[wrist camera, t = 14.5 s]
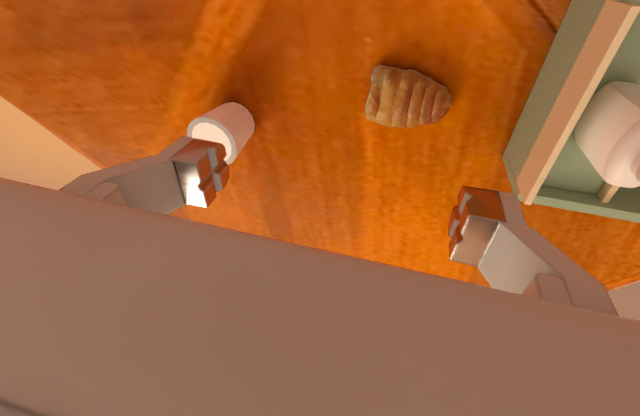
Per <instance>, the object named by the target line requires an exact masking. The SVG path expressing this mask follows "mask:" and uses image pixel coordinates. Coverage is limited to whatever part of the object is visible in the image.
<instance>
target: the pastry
mask: <svg viewBox="0 0 640 416" xmlns="http://www.w3.org/2000/svg"><path fill="white" fill-rule="evenodd" d="M451 103H452V98H451V95H450V94H449V91H448V89H447V87H445V86H443V85H441V84H440V83H438V82H436V81H434V80H433V79H432V78H430V77H427V76H425V75H423V74H421V73H420V72H417V71H415V70H412V69H409V70H404V69H400V68H396V67H389V66H384V65H377V66H376V67H375V68H374V69H373V72H372V76H371V87H370V92H369V95H368V99H367V101H366V107H365V112H366V117H367V119H368V120H372V121H375V122H377V123H379V124H381V125H383V126H386V127H398V128H403V127H407V128H410V127H413V126H414V127H416V126H420V125H423V124H430V123H435V122H438V121H439V120H440V119H441V118H443V117H444V116H445V115H446V113H447V111H448V110H449V107H450V105H451Z"/></svg>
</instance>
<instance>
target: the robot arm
mask: <svg viewBox="0 0 640 416" xmlns="http://www.w3.org/2000/svg"><path fill="white" fill-rule="evenodd" d="M226 155H227V154H226V149H225V146H224V145H223V144H222V143H217V142H212V141H207V140H202V139H196V138H192V137H180V138H179V139H178V140H176V141H175V142H174V143H172V144H171V145H170V146H168V147H167V148H166V149H164V150H163V151H162V152H160V153H159V154H158V155H157V156H155V157H154V156H149V157H146V158H142V159H138V160H135V161H131V162H127V163H124V164H120V165H116V166H113V167H109V168H106V169H102V170H99V171H95V172H91V173H87V174H84V175H81V176H79V177H78V178H76V179H75V180H73V181H72V182H70V183H69V184H67V185H66V186H64V187H63V188H61V189H60V190H58V191H57V190H52V189H48V188H44V187H39V186H35V185H30V184H26V183H22V182H17V181H13V180H8V179H4V178H0V416H640V321H637V320H633V319H628V318H624V317H619V315H618V313H617V311H616V309H615V307H614V305H613V303H612V301H611V299H610V297H609V295H608V293H607V291H606V288H605V286H604V285H603V284H601V283H600V282H599V281H598V280H596V279H595V278H594V277H593V276H591V275H590V274H589V273H588V272H587V271H585V270H584V269H583V268H582V267H580V266H579V265H578V264H577V263H575V262H574V261H573V260H572V259H570V258H569V257H568V256H567V255H565V254H564V253H563V252H562V251H560V250H559V249H558V248H557V247H555V246H554V245H553V244H552V243H551V242H549V241H548V240H547V239H546V238H544V237H543V236H542V235H541V234H539V233H538V232H537V231H536V230H534V229H533V228H529V227H527V224H526V221H525V218H524V215H523V212H522V209H521V206H520V203H519V200H518V197H517V195H516V194H515V193H509V192H502V191H494V190H488V189H481V188H474V187H468V186H462V188H461V189H460V192H459V194H458V205H456V206H455V207H453V210H452V213H451V216H450V220H449V226H448V235H449V236H450V238H451V241H450V243H449V258H450V260H452V261H456V262H460V263H464V264H468V265H472V266H477V267H478V269H479V270H480V272H481V273H482V275H483V276H484V277H485V279H486V280H487V281H488V283H489V284H490V286H491V287H492V288H490V287H486V286H481V285H477V284H473V283H468V282H464V281H459V280H455V279H450V278H446V277H441V276H437V275H432V274H428V273H423V272H419V271H414V270H410V269H406V268H401V267H397V266H392V265H388V264H383V263H379V262H374V261H370V260H365V259H361V258H356V257H352V256H347V255H343V254H339V253H334V252H330V251H325V250H321V249H316V248H312V247H307V246H303V245H298V244H294V243H289V242H285V241H280V240H276V239H272V238H267V237H263V236H258V235H254V234H249V233H245V232H240V231H236V230H231V229H227V228H223V227H218V226H214V225H209V224H205V223H200V222H196V221H191V220H187V219H182V218H178V217H173V216H169V215H167V214H169V213H171V212H173V211H175V210H177V209H179V208H181V207H183V206H184V205H185V204H188V205H193V206H199V207H204V208H207V207H208V206H209V205H210V204H211V203H212V202H213V200H214V199H215V198H216V192H218V191H221V190H223V189H224V187H225V186H226V185H227V182H228V179H229V166H228V164H227V163H226V162H225V161H224V158H225V157H226Z"/></svg>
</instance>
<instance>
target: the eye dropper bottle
mask: <svg viewBox="0 0 640 416" xmlns="http://www.w3.org/2000/svg"><path fill="white" fill-rule="evenodd" d="M574 139H575V141H576V143H577V145H578V146H579V148H580V149H581V150H582V152H583V153H584V154H585V156H586V157H587V158H588V160H589V161H590V163H591V164H592V165H593V167H594V168H595V169H596V171H597V172H598V173H599V175H600V176H601V177H602V178H603V179H604V181H606V182H607V183H609V184H611V185H614V186H619V187H625V188H636V187H639V186H640V86H639V85H638V84H635V83H631V82H622V81H612V82H609V83H607V84H605V85H604V86H603V87H601V88H600V89H599V90H598V91H597V92H596V93H595V94H594V95H593V96H592V97H591V99H590V100H589V102H588V104H587V106H586V108H585V109H584V111H583V113H582V115H581V116H580V118H579V120H578V122H577V123H576V127H575V133H574Z"/></svg>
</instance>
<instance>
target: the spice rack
mask: <svg viewBox="0 0 640 416" xmlns="http://www.w3.org/2000/svg"><path fill="white" fill-rule="evenodd" d="M612 81H622V82H631V83H635V84H638V85H639V86H640V0H571V2H570V5H569V7H568V9H567V11H566V14H565V16H564V18H563V20H562V23H561V25H560V27H559V29H558V32H557V34H556V36H555V38H554V41H553V43H552V45H551V47H550V50H549V52H548V54H547V57H546V59H545V61H544V63H543V66H542V68H541V70H540V72H539V75H538V77H537V79H536V81H535V84H534V86H533V88H532V90H531V93H530V95H529V97H528V99H527V102H526V104H525V106H524V108H523V111H522V113H521V115H520V118H519V120H518V122H517V124H516V127H515V129H514V131H513V133H512V136H511V138H510V140H509V142H508V145H507V147H506V149H505V151H504V154H503V156H502V159H503V162H504V165H505V169H506V172H507V175H508V178H509V181H510V184H511V187H512V190H513V193H515V194H516V195H517V197H518V200H519V201H523V203H524V204H526V205H531V203H534V204H539V205H545V206H550V207H556V208H561V209H567V210H572V211H578V212H583V213H589V214H594V215H600V216H606V217H611V218H617V219H622V220H628V221H633V222H639V223H640V186H639V187H636V188H625V187H619V186H614V185H611V184H609V183H607V182H606V181H604V179H603V178H602V177H601V176H600V175H599V173H598V172H597V171H596V169H595V168H594V167H593V165H592V164H591V163H590V161H589V160H588V158H587V157H586V156H585V154H584V153H583V152H582V150H581V149H580V148H579V146H578V145H577V143H576V141H575V139H574V133H575V127H576V123H577V122H578V120H579V118H580V116H581V115H582V113H583V111H584V109H585V108H586V106H587V104H588V102H589V100H590V99H591V97H592V96H593V95H594V94H595V93H596V92H597V91H598V90H599V89H600V88H601V87H603V86H604V85H605V84H607V83H609V82H612Z"/></svg>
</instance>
